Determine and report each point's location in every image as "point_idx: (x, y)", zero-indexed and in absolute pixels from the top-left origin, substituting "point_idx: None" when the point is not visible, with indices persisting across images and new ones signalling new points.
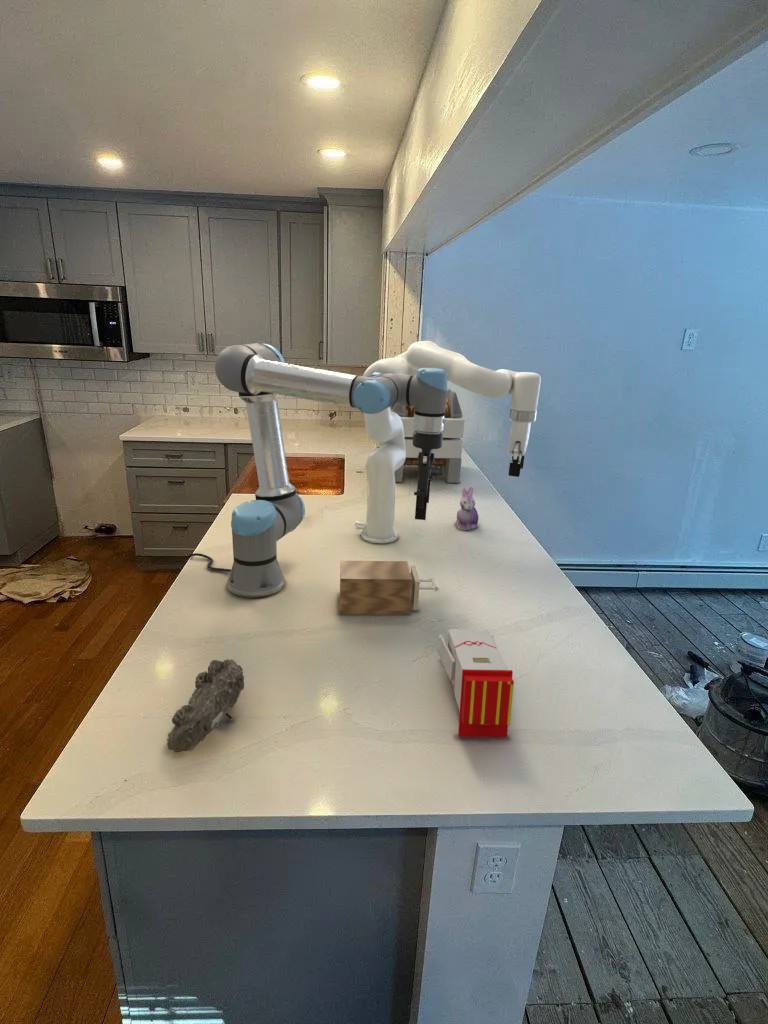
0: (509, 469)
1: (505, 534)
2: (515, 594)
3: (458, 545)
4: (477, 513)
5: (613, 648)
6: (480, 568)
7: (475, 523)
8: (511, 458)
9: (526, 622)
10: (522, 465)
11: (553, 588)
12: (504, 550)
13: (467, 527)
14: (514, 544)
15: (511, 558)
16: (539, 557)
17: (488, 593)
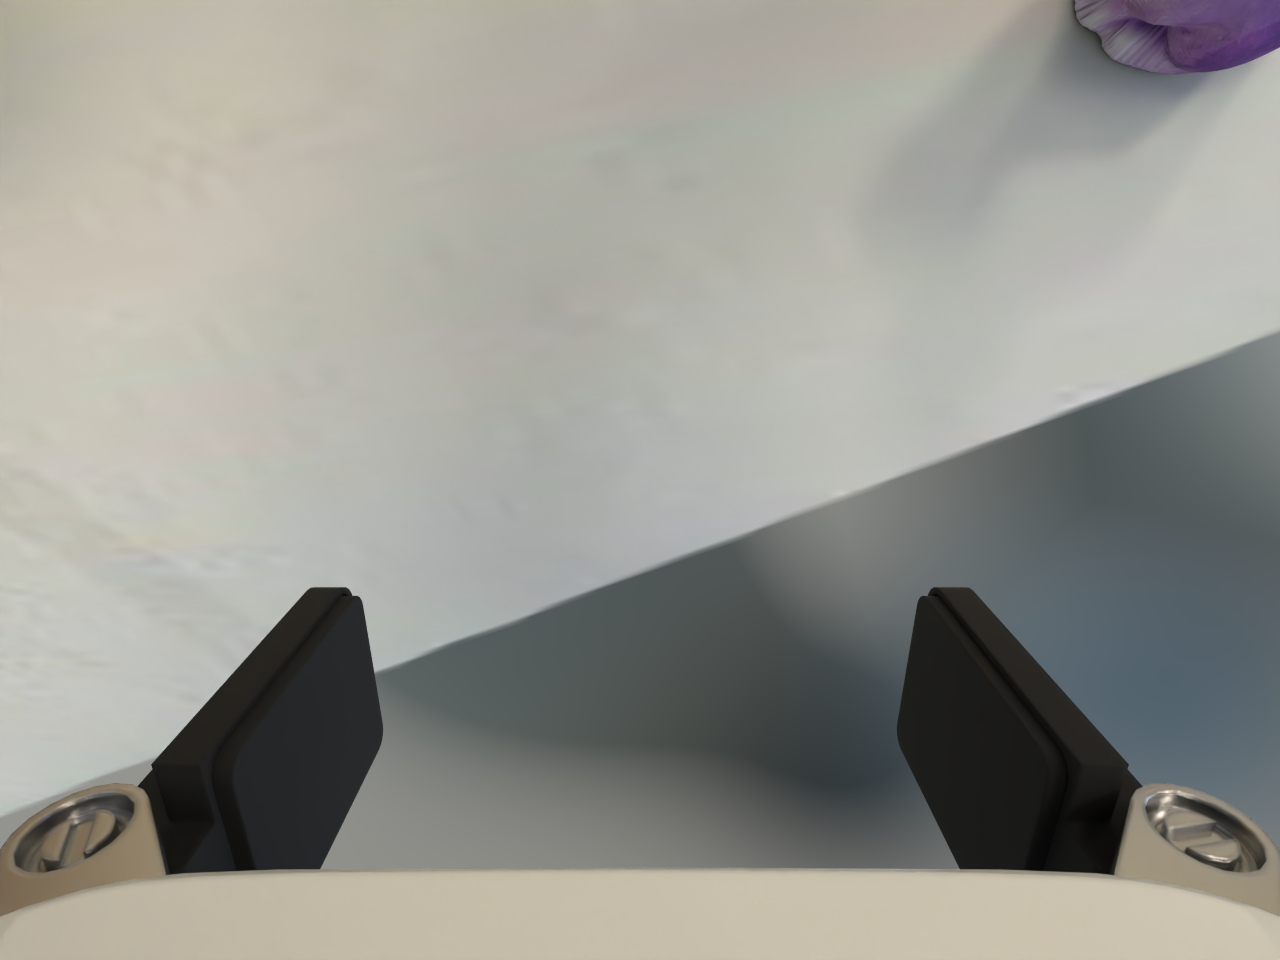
0: (259, 655)
1: (1062, 299)
2: (279, 446)
3: (772, 12)
4: (1270, 43)
5: (91, 774)
6: (479, 232)
7: (1170, 58)
8: (3, 913)
9: (60, 513)
10: (918, 780)
11: (434, 591)
12: (794, 328)
13: (1096, 7)
14: (906, 372)
15: (692, 380)
16: (763, 514)
17: (210, 324)
